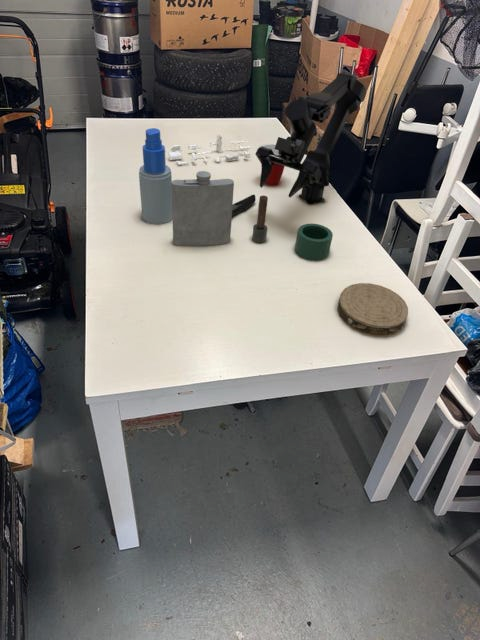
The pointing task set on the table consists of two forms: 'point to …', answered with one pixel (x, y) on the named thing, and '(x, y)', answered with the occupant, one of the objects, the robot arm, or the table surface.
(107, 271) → the table surface
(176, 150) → the miniature set
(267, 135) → the table surface
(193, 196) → the hip flask
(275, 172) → the plastic cup
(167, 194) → the spray bottle
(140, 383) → the table surface
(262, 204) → the brown cylinder with base
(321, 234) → the round container
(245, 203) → the electric trimmer
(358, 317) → the wood slice coaster
